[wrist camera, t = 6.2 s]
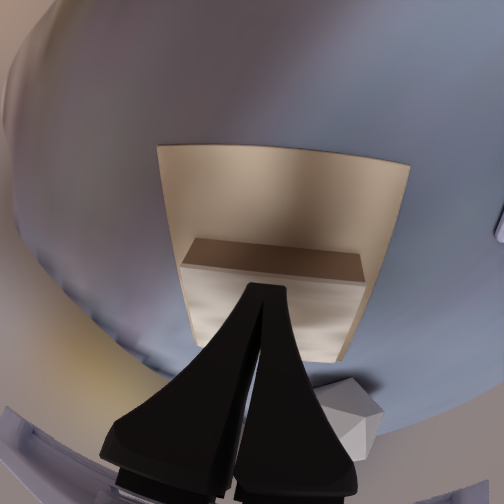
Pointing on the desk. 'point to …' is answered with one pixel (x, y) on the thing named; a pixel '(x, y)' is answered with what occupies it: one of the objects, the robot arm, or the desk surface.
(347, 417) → the die
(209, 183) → the light wood board
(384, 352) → the desk surface
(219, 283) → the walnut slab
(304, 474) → the robot arm
